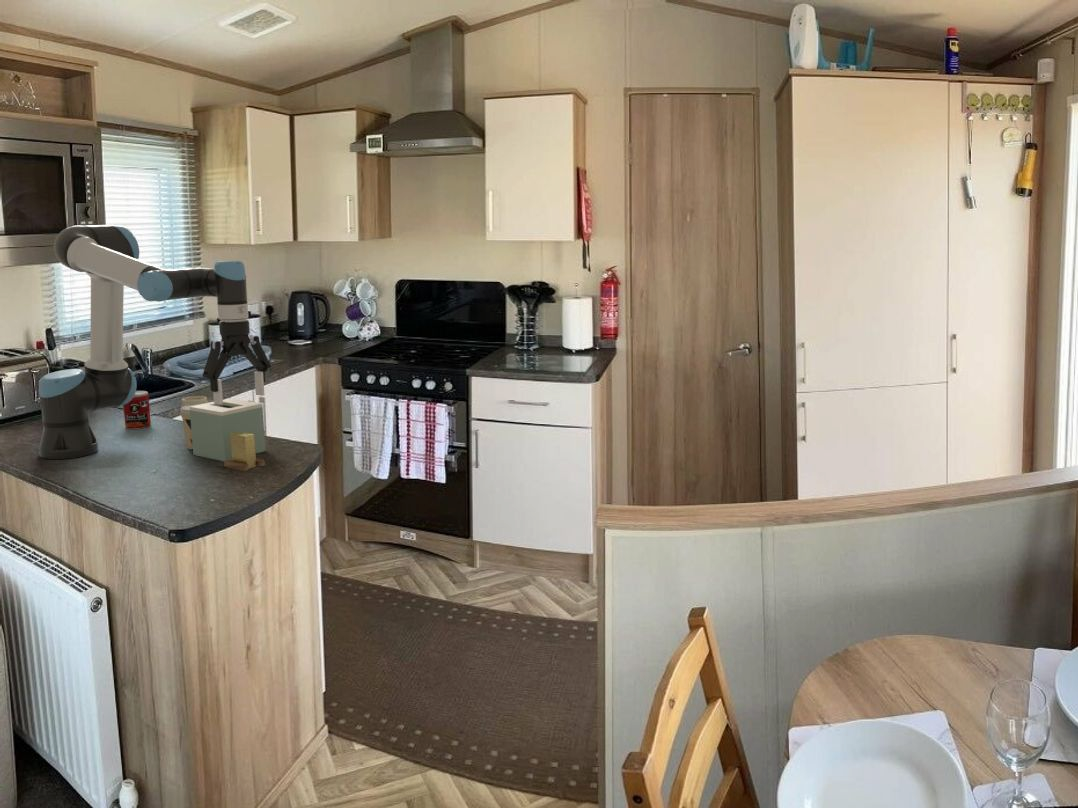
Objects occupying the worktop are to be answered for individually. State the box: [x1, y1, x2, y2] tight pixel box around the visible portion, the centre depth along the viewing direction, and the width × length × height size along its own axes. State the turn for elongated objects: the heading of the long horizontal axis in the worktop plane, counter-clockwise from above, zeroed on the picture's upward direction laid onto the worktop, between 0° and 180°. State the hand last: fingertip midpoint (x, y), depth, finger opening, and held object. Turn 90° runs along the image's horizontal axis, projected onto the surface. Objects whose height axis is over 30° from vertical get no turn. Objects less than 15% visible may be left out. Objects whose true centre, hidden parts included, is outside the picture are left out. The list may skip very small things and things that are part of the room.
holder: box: [223, 457, 266, 472], centre depth 248 cm, size 7×8×2 cm
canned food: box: [122, 390, 152, 429], centre depth 295 cm, size 8×8×11 cm
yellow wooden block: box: [230, 431, 257, 469], centre depth 248 cm, size 3×6×9 cm, turn 57°
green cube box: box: [190, 397, 266, 462], centre depth 261 cm, size 14×14×14 cm
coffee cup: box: [180, 404, 200, 450], centre depth 268 cm, size 9×9×12 cm
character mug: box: [180, 395, 210, 418], centre depth 275 cm, size 11×7×13 cm, turn 155°
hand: (239, 399), depth 245 cm, fingers open, 13 cm apart
